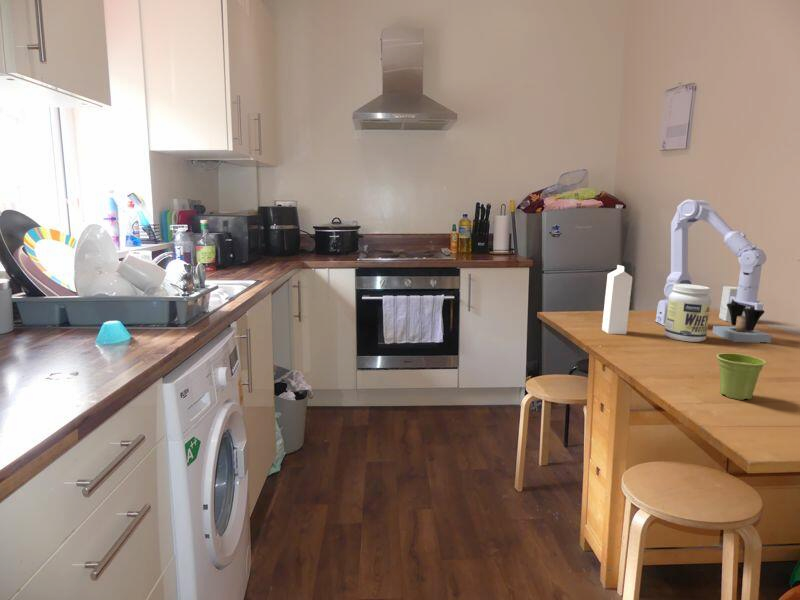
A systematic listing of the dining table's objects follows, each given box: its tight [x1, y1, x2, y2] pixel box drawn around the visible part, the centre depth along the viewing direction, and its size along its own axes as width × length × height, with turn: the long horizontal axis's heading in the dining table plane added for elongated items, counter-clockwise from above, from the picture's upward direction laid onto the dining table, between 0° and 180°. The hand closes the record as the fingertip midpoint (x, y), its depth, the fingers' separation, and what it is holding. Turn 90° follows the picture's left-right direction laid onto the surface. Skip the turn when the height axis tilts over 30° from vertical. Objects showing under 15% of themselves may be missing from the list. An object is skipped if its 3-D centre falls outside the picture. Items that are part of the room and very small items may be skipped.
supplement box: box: [718, 285, 749, 323], centre depth 214 cm, size 7×7×13 cm
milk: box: [601, 264, 633, 335], centre depth 185 cm, size 6×6×22 cm
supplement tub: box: [663, 284, 712, 343], centre depth 181 cm, size 12×12×17 cm
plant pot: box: [716, 352, 767, 401], centre depth 126 cm, size 9×9×9 cm
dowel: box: [734, 316, 749, 333], centre depth 185 cm, size 4×4×7 cm
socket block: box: [712, 325, 773, 344], centre depth 185 cm, size 12×12×2 cm
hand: (742, 327), depth 185 cm, fingers open, 7 cm apart
